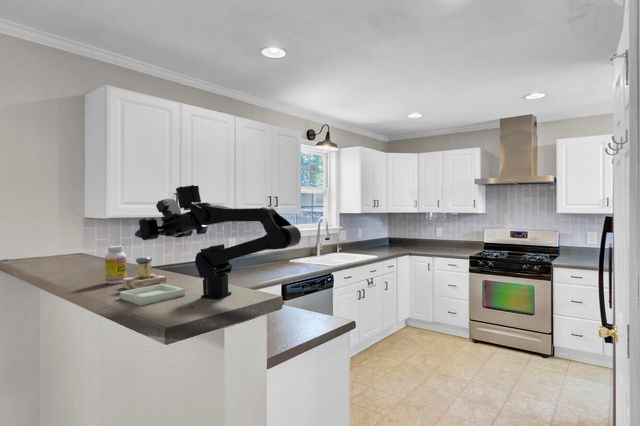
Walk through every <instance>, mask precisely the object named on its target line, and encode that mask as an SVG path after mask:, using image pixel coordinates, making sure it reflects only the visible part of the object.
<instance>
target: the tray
mask: <svg viewBox="0 0 640 426" xmlns="http://www.w3.org/2000/svg"><path fill="white" fill-rule="evenodd" d="M185 294H186V293H185V288H182V287H178V286H173V285H170V284H167V285H166V284H159V285H154V286H148V287H143V288H137V289H132V290H130V289H127V290H122V291H119V299H121V300H123V301H126V302H129V303H132V304H134V305H139V306H144V305H150V304H154V303H159V302H161V301H167V300H172V299H176V298H180V297H185V296H186V295H185Z"/></svg>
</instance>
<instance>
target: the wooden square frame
mask: <svg viewBox="0 0 640 426" xmlns="http://www.w3.org/2000/svg"><path fill="white" fill-rule="evenodd" d="M159 284H166V285H168V281H167V276H164V275H160V274H155V273H151V278H149V279H143V280H138V275H135V276H129V277H127V278H123V283H122V288H124V289H127V290H132V289H137V288H143V287H148V286H154V285H159Z"/></svg>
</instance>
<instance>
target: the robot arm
mask: <svg viewBox="0 0 640 426" xmlns="http://www.w3.org/2000/svg"><path fill="white" fill-rule="evenodd" d="M175 192H176V196H177V201H178V202H177V201H176V200H175V199H173V198H164V199H160V200H158V201H157V203H156V205H155V207H156V209H157V211H158V212H159V213H161V214H162V216H161V222H162V224H161V225H158V221H157V219H156V218H154V217H144V218H141V219H139V220H138V224H139V229H138V230H137V231H135V233H134V236H135V237H136V238H139V239H140V238H141V239H142V240H143V241H152V240H156V239H158V238H159V236H163V237H164V236H165V237H166V238H167V237H173V238H187V237H190V236H192V234H193V233H194V232H193V231H195V232H196V235H206V234H207V231H208V228H209V226H213V225H221V224H225V223H229V222H259V223H261V225H262V227H263V228H264V232H265V233H266V234H264V235H263V236H261V237H258V238H254V239H252V240H249V241H248V240H247V241H245V242H242V243H238V244H236V245H231V246H228V247H225V244H224V243H221V244H216V245H211V246H208V247H206V248H200V249H199V250H200V251H199V252H198V253H196V256H195V259H194V263H195V266H196V269H197V272H198V274H199V277H200V278H203V279H202V292H203V293H202V294H201V295H200V298H206V299H215V300H216V299H218V300H219V299H222V298H224V297H227V296H229V295H232V291H229V274H230V273H232V270H233V265H232V264H231V263H230V262H231V261H233V260H236V259H240V258H243V257H246V256H250V255H253V254H257V253H259V252H264V251H267V250H271V251H272V250H282V249H284V250H285V249H287V248H291V247H295V246H297V245H299V243H300V241H301V237H302V235H301V234H302V233H301V231H300V230H299V228H298V227H297V226H295V225H292V224H291V223H290V221H288V220H287V219H286V218H284V217H283V216H282V215H280V213H278V212H277V210H276V209H275V208H273V207H270V206H266V207H264V206H263V207H260V208H259V207H255V208H253V207H252V208H250V207H249V208H231V207H228V206H224V205H219V204H212V203H209V202H204V201H203V202H202V200H201V195H200V188H199V185H198V184H192V185H186V186H185V185H184V186H178V187H176V188H175ZM181 209H183V211H187V212H183V213H182V212H181Z"/></svg>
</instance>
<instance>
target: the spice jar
mask: <svg viewBox="0 0 640 426" xmlns="http://www.w3.org/2000/svg"><path fill="white" fill-rule="evenodd" d="M152 261H153V257H150V256H149V257H148V256H147V257H145V256H143V257H137V258H135V262H136V263H137V276H138V280H143V279H149V278H151V274H152V265H151V264H152Z"/></svg>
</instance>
